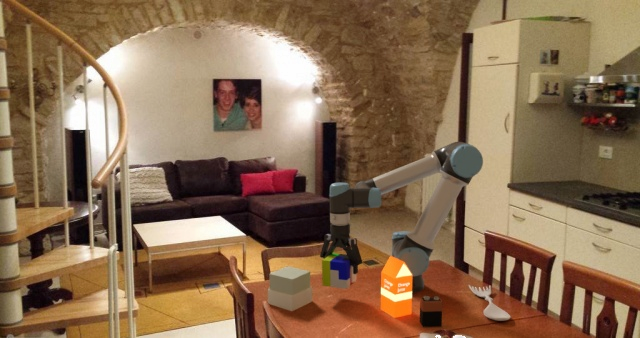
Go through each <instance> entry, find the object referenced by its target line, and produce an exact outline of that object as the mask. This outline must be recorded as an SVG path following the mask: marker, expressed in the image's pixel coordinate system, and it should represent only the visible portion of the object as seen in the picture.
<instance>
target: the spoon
mask: <svg viewBox="0 0 640 338" xmlns="http://www.w3.org/2000/svg"><path fill="white" fill-rule="evenodd" d="M468 287H469V288H468V289H470V291H471V292H472V294H474V295H475V296H477V297H480V298H484V301H486V302H489V303H488V305H487V306H486V307H485V309H483V310H482V311H483V312H482V313H483V315H484V317H486V318H487V319H490V320H493V321H499V322H501V321H503V322H504V321H508V320H510V319H511V318H512V316H511V315H510V314H509V313H508V312H507V311H506V310H504V309H502V308H501V307H499V306H497V305H496V304H495V303H493V300H494V298H492V297H491V295H492V286H491V285H490V284H489V286H487V285H485V286H483V287H482V288H481V286H479V287H478V288H477V287H476V286H475V287H474V286H473V285H472V286H471V285H470V284H468Z"/></svg>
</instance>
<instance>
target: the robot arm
mask: <svg viewBox="0 0 640 338" xmlns="http://www.w3.org/2000/svg"><path fill="white" fill-rule="evenodd" d="M483 164H484V157H483V155H482V153H481V151H480V150H479V149H478V148H477V147H476V146H474V145H473V144H470V143H466V142H464V141H455V142H451V143H449V144H446V145H444V146H443V147H440V148H439V149H435V150H433V151H432V152H431V154H430V155H428V156H426V157H423V158H419V159H418V160H416V161H413V162H410V163H408V164H406V165H403V166H400V167H397V168H395V169H393V170H391V171H387V172H386V173H382V174H380V175H378V176H375V177H373V178H371V179H368V180H361V181H359V182H357V183H356V185H355V187H354V188H353V187H350V184H349V183H348V182H334V183H331V184H330V185H329V221H330V222H329V223H330V225H329V226H330V227H329V229H330V230H329V231H330V233H327V234H324V236H323V237H324V238H323V239H324V241H323V244H322V248H321V250H320V254H319V257H320V258H321V259H324V258H326V257H327V256H329V255H331V254H332V253H334V251H335V250H336V248H340V249H342V250H343V251H344V252H345V254H346V255H347V256H348V257H349V259H350V260H351V263H352V265H351V283H353V282H354V283H355V282H357V274H358V273H359V268H358V267H359V265H362V264H363V258H362V256H361V252H360V250H359V247H358V240H357V239H358V238H356V237H355V238H351V236H350V234H351V224H350V222H351V215H350V214H351V209H373V208H374V209H375V208H376V209H377V208H380V207H381V206H382V195H385V194H387V193H390V192H393V191H395V190H398V189H399V188H403V187H405V186H408V185H410V184H413V183H415V182H418V181H421V180H423V179H425V178H428V177H431V176H433V175H436V174H440V175H441V177H440V179H439V181H438V182H437V185H436V186H435V188H434V190H433V192H432V194H431V196H430V197H429V199H428V201H427V203H426V205H425V207H424V209H423V211H422V212H421V215H420V217H419V218H418V220H417V222H416V224H415V226H414V228H413V229H412V230H411V231H409V230H406V231H405V230H403V231H399V230H398V231H394V232H393V233H392V238H391V241H392V242H391V243H392V244H391V256H392V257H394V258H397V259H399V260H401V261H403V262H404V263H405V264H406V266H407V267H408V269H409V271H410V272H411V274H412V275H413V276H412V294H413V293H420V292H422V291H423V290H424V289H425V280H424V277H423V274H424V273H425V272H426V271H427V270H428V268H429V264H430V257H431V256H432V253H433V251H434V249H435V246H434V241H435V239H436V238H437V235H438V234H439V231H440V230H441V228H442V226H443V224H444V222H445V221H446V218H447V217H448V215H449V212H450V211H451V209H452V207H453V206H454V204H455V201H456V200H457V198H458V196H459V194H460V193H461V191H462V190H463V189H462V188H463V187H466V186H469V184H470V183H471V181H472V179H473V177H475V176H476V175H477V174H479V173H480V171H481V170H482V168H483ZM330 243H331V244H330ZM354 283H353V284H354Z"/></svg>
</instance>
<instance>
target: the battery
mask: <svg viewBox="0 0 640 338" xmlns="http://www.w3.org/2000/svg"><path fill="white" fill-rule="evenodd" d="M419 323H420V325H421V326H422V328H436V327H437V328H438V327H440V328H441V327H442V325H443V324H442V323H443V301H442V299H441V298H440V297H439V296H437V295H435V296H433V297H431V296H428V295H424V296H423V297H420V298H419Z"/></svg>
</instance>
